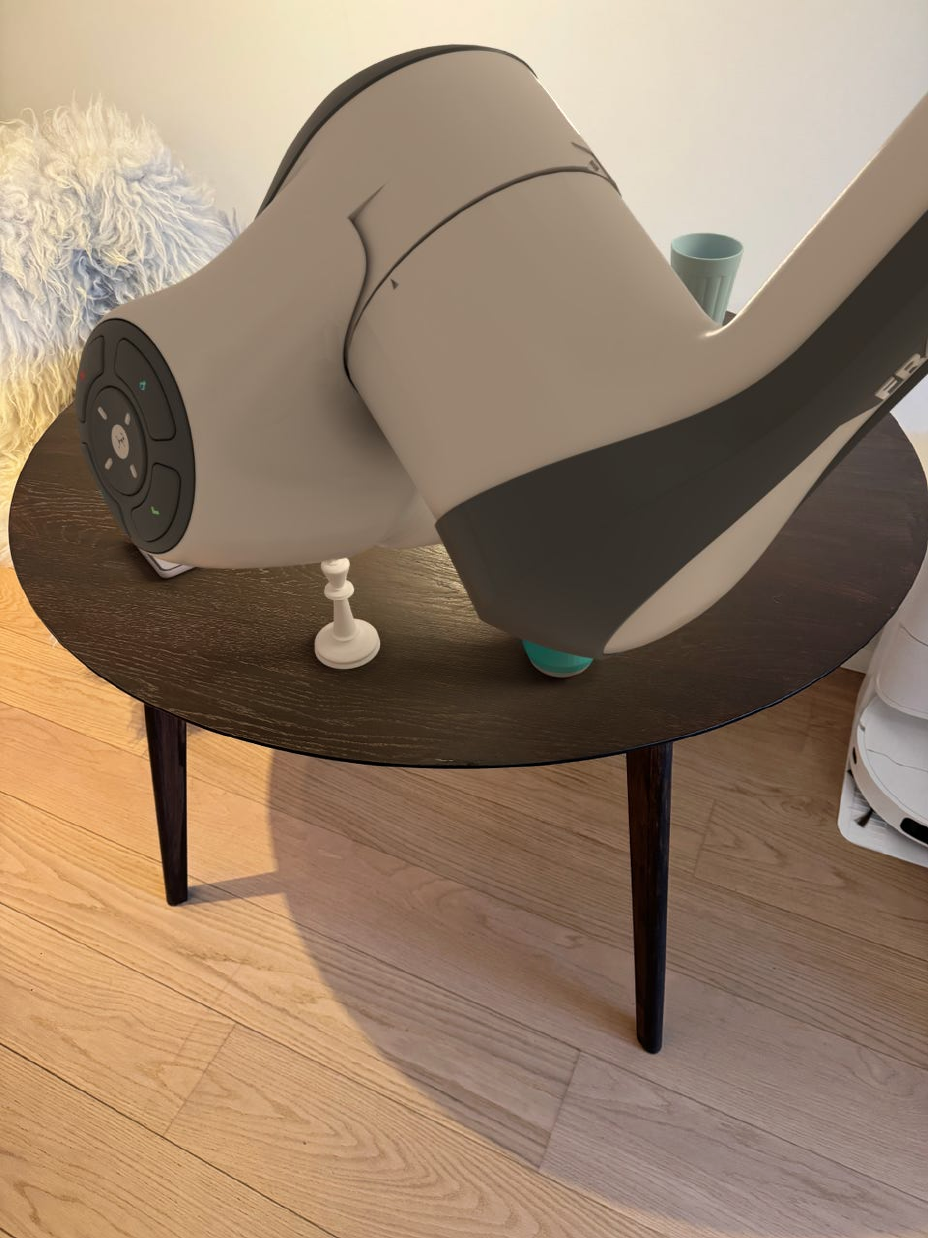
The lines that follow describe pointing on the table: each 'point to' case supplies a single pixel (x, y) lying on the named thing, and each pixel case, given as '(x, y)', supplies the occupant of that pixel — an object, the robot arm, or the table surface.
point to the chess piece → (344, 624)
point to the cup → (707, 269)
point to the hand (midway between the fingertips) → (594, 438)
